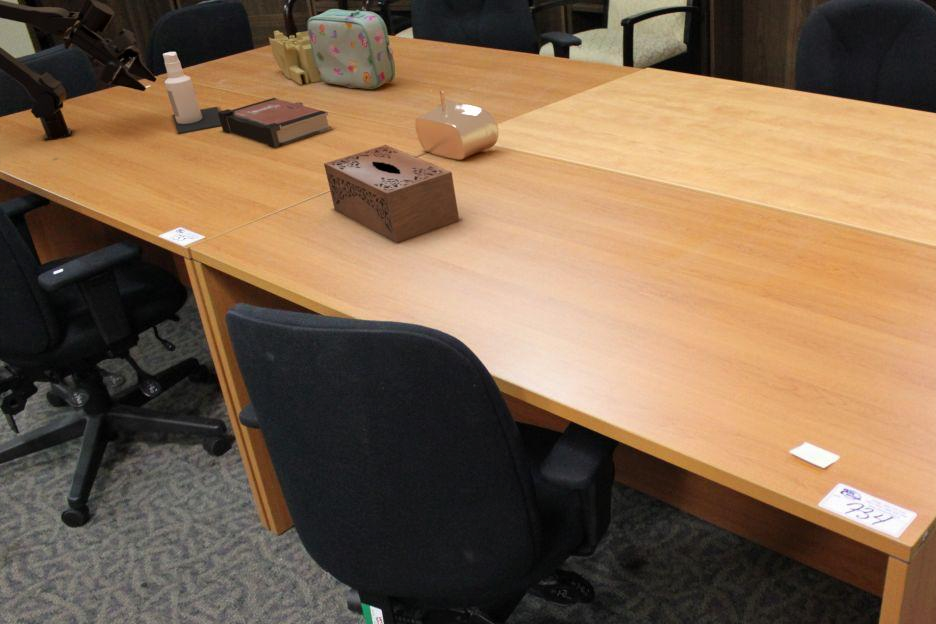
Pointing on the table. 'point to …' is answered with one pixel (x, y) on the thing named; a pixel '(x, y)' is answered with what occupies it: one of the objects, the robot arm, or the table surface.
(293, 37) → the beige blocky piece
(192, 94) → the spray bottle
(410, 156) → the tissue box cover
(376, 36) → the lunch box
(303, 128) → the book
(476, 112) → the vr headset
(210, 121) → the pad
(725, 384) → the table surface
